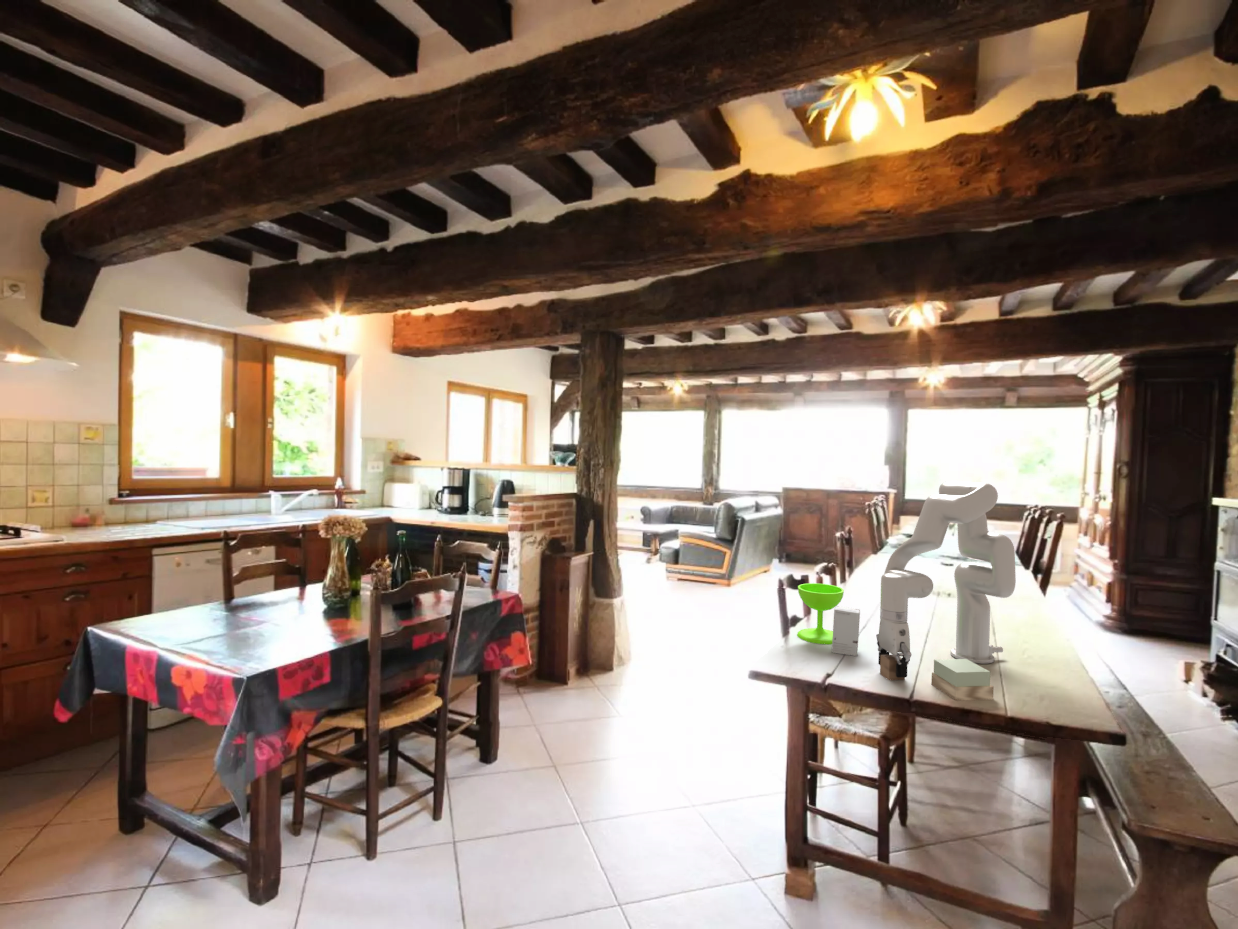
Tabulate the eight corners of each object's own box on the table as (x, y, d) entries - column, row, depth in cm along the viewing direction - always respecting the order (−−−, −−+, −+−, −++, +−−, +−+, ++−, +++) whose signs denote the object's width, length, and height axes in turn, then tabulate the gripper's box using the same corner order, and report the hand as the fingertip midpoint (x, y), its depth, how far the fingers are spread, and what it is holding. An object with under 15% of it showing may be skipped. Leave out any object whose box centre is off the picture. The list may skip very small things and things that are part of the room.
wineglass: (832, 630, 227) (833, 583, 226) (850, 644, 211) (851, 593, 210) (791, 630, 226) (791, 583, 226) (805, 644, 210) (806, 593, 210)
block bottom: (966, 684, 177) (967, 671, 177) (993, 700, 166) (993, 686, 166) (931, 685, 176) (931, 672, 176) (955, 702, 165) (956, 687, 165)
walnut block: (895, 673, 184) (895, 654, 184) (904, 680, 179) (905, 660, 179) (880, 674, 184) (880, 654, 183) (888, 680, 179) (889, 660, 178)
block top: (965, 672, 176) (966, 658, 176) (989, 685, 166) (990, 671, 166) (933, 673, 175) (934, 659, 175) (955, 686, 165) (956, 672, 165)
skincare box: (831, 653, 202) (832, 609, 201) (833, 647, 207) (834, 605, 207) (858, 656, 198) (859, 612, 198) (859, 651, 204) (860, 608, 203)
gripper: (922, 623, 172) (921, 681, 173) (889, 607, 190) (888, 660, 190) (897, 623, 172) (896, 682, 172) (867, 607, 189) (866, 660, 190)
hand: (892, 670), depth 181 cm, fingers open, 9 cm apart
